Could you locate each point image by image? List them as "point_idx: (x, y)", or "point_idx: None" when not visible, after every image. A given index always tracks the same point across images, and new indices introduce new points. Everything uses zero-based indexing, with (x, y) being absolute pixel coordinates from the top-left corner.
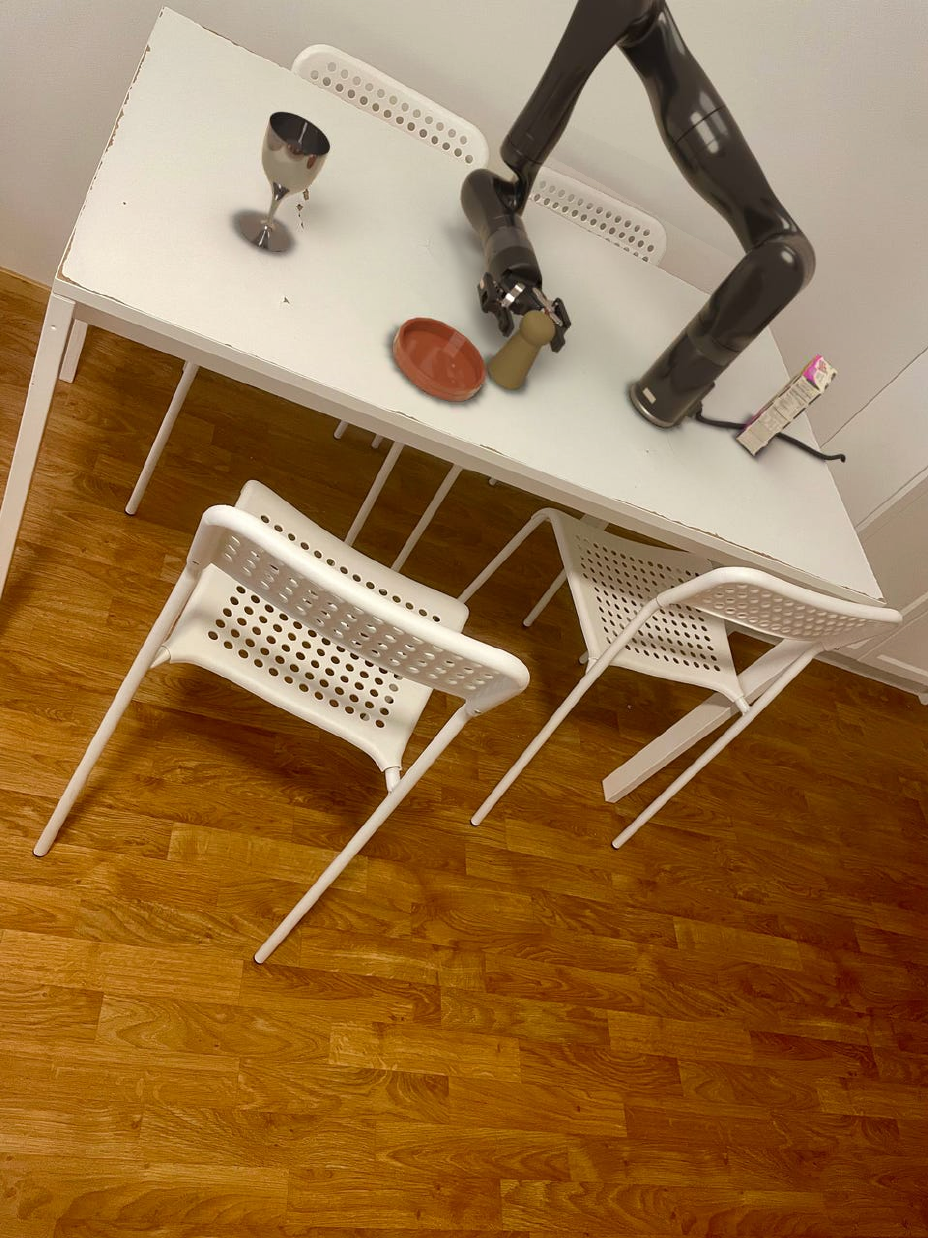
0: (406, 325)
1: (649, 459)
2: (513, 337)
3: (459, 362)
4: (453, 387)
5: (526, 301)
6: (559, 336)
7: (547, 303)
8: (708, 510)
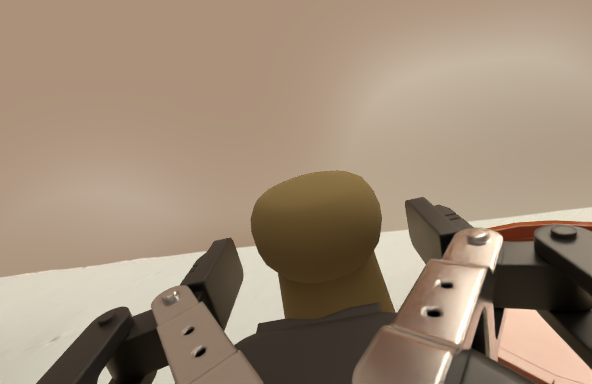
0: None
1: (70, 325)
2: (382, 276)
3: (520, 349)
4: (495, 228)
5: (334, 329)
6: (222, 246)
7: (180, 341)
8: (53, 289)
